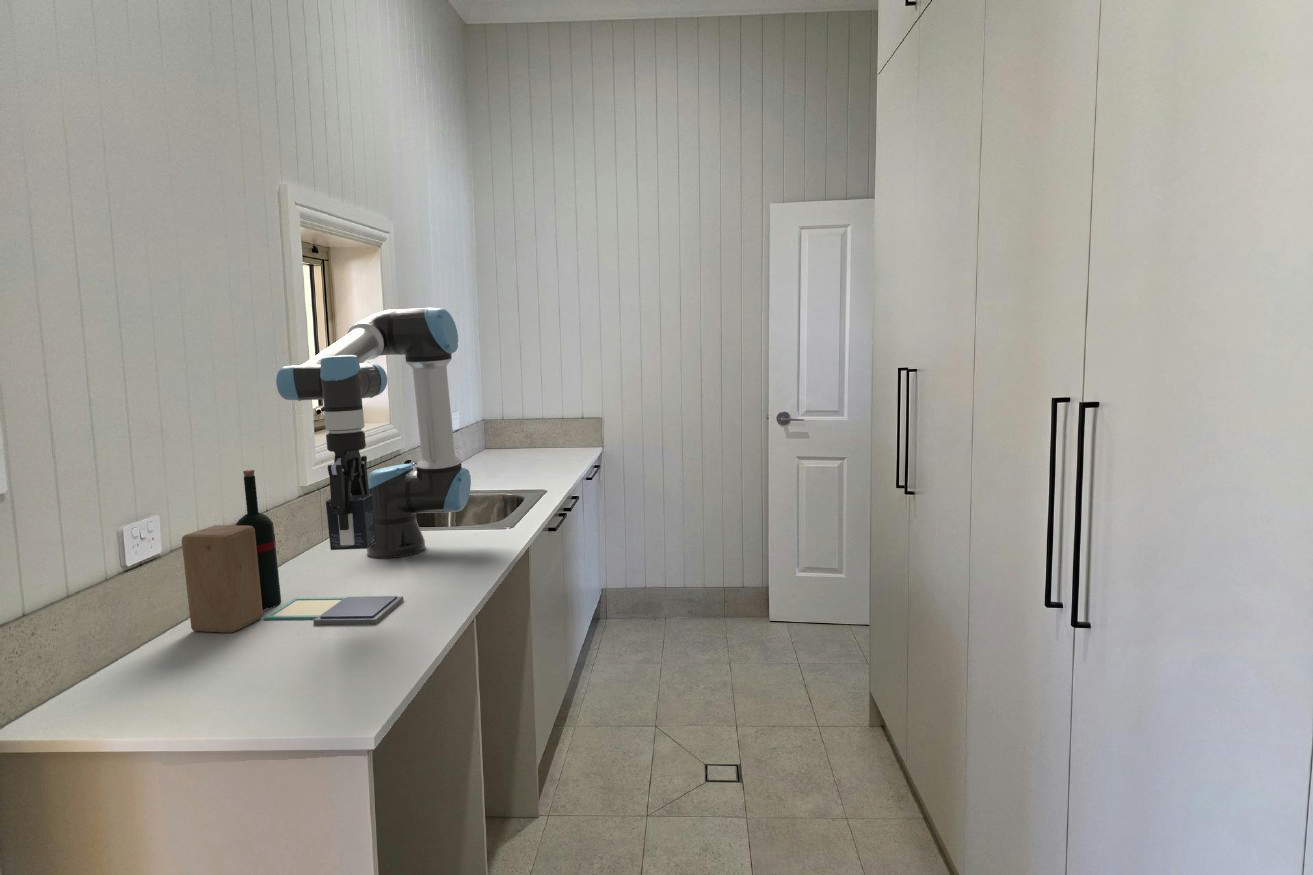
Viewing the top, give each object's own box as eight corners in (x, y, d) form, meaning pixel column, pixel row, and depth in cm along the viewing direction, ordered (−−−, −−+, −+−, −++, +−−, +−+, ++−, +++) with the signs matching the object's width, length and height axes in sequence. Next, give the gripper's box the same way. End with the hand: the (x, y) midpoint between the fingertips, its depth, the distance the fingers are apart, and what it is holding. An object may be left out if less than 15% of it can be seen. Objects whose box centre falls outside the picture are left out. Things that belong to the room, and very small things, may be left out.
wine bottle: (292, 595, 194) (280, 465, 190) (271, 610, 184) (257, 473, 180) (258, 596, 194) (245, 466, 190) (235, 611, 184) (221, 474, 180)
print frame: (295, 600, 190) (294, 597, 190) (355, 599, 189) (355, 597, 189) (264, 619, 178) (263, 617, 178) (328, 618, 176) (328, 616, 176)
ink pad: (346, 601, 188) (345, 595, 188) (403, 600, 187) (403, 594, 187) (313, 624, 173) (313, 618, 173) (376, 624, 172) (375, 617, 172)
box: (376, 542, 181) (372, 493, 180) (367, 549, 175) (362, 499, 174) (340, 543, 181) (336, 494, 180) (329, 550, 176) (324, 500, 174)
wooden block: (233, 634, 169) (222, 536, 167) (189, 632, 171) (178, 535, 169) (265, 617, 179) (256, 524, 176) (223, 616, 181) (214, 524, 178)
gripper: (347, 426, 185) (356, 530, 188) (305, 437, 166) (315, 552, 169) (381, 425, 184) (389, 530, 187) (342, 435, 166) (352, 552, 168)
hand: (354, 540), depth 178 cm, fingers closed on box, 6 cm apart
